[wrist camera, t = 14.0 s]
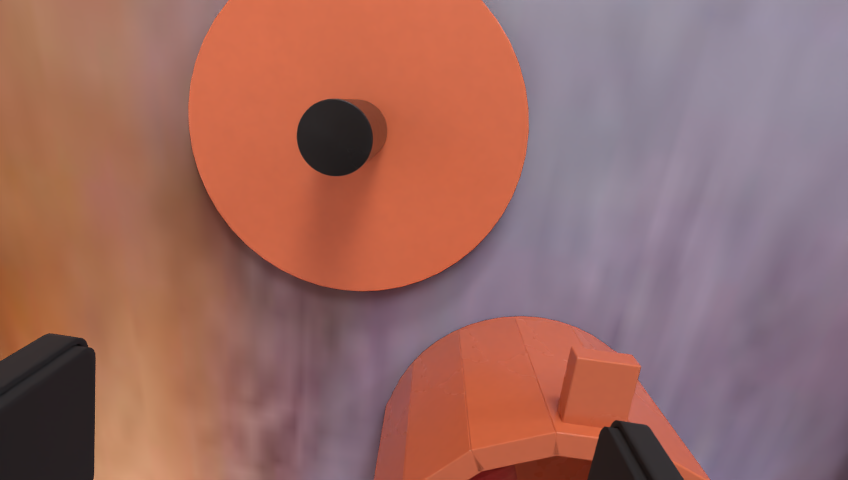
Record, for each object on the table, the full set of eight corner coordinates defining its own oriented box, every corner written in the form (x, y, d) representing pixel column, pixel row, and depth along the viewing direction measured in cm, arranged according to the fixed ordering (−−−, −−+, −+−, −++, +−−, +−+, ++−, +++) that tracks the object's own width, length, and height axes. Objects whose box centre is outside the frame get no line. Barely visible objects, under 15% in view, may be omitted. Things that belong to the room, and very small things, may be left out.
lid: (191, 261, 31) (114, 312, 24) (204, -75, 27) (115, -144, 19) (494, 304, 31) (513, 367, 24) (554, -24, 27) (599, -72, 20)
